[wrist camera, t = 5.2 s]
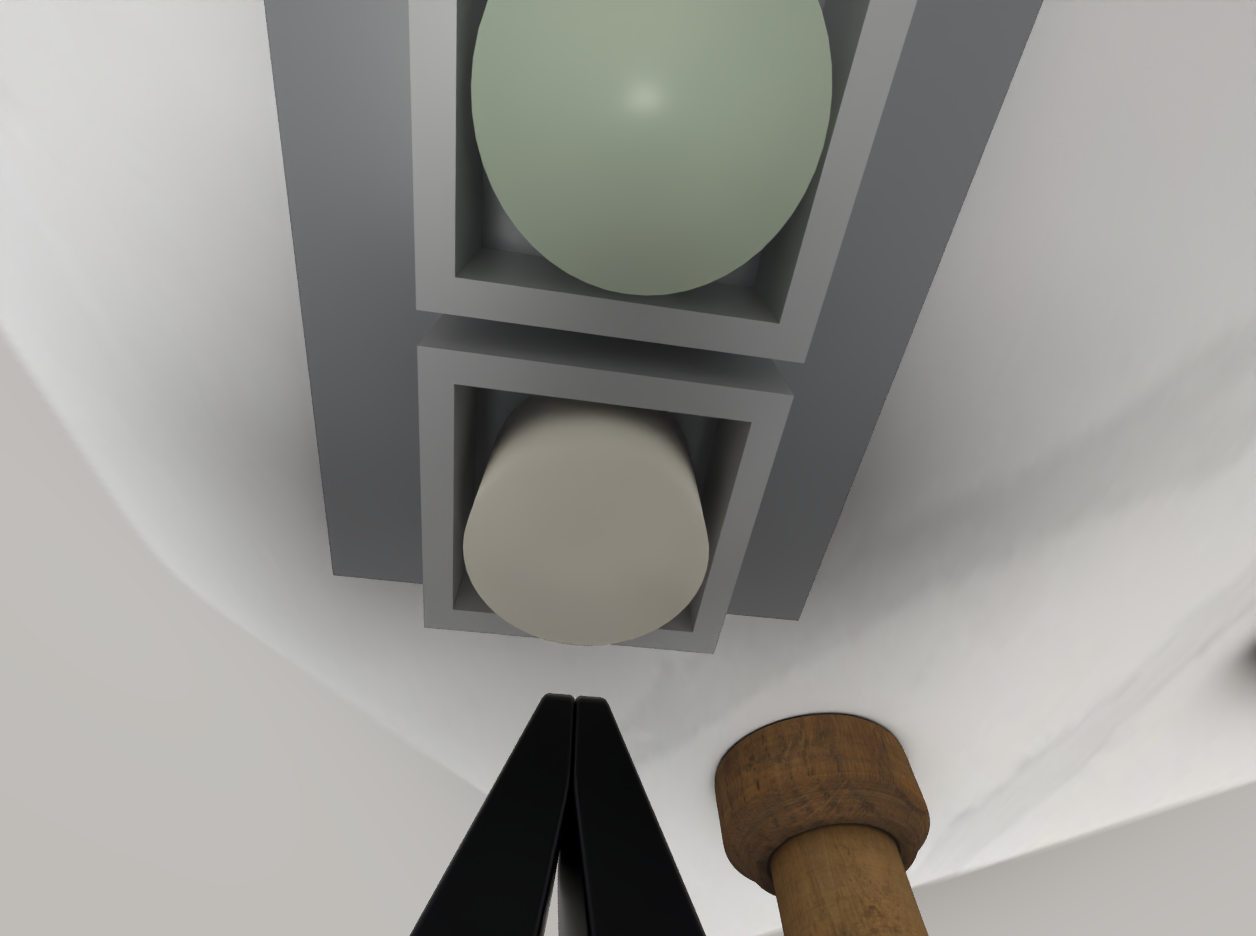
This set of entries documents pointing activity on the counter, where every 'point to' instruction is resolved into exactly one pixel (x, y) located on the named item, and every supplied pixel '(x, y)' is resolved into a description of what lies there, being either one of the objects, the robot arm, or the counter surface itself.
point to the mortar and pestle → (826, 824)
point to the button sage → (650, 130)
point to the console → (610, 295)
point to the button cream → (587, 522)
